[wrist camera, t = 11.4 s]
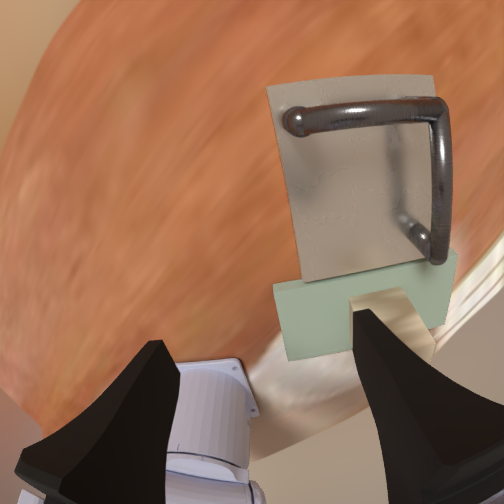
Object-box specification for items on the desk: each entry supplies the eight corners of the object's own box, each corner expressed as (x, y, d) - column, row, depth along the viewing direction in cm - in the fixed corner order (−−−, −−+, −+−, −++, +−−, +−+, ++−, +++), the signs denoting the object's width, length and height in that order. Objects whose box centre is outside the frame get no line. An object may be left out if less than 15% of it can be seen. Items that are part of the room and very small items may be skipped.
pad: (439, 317, 22) (444, 324, 21) (287, 352, 24) (288, 361, 23) (451, 247, 19) (457, 253, 18) (272, 284, 21) (273, 292, 20)
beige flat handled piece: (430, 246, 19) (464, 281, 15) (300, 273, 20) (310, 318, 16) (422, 76, 14) (468, 73, 9) (265, 88, 15) (268, 80, 10)
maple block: (400, 286, 19) (435, 343, 14) (396, 326, 21) (423, 383, 16) (348, 297, 20) (372, 361, 14) (349, 337, 22) (368, 399, 16)
